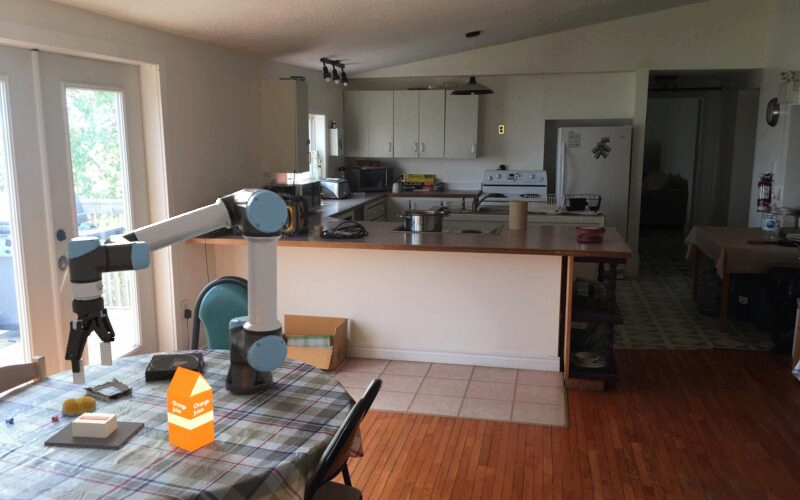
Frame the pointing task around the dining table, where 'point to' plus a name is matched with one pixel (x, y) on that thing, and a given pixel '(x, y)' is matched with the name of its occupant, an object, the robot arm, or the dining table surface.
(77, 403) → the bread roll
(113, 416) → the block
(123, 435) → the charcoal mat
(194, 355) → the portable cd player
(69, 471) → the dining table surface
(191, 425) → the orange juice
